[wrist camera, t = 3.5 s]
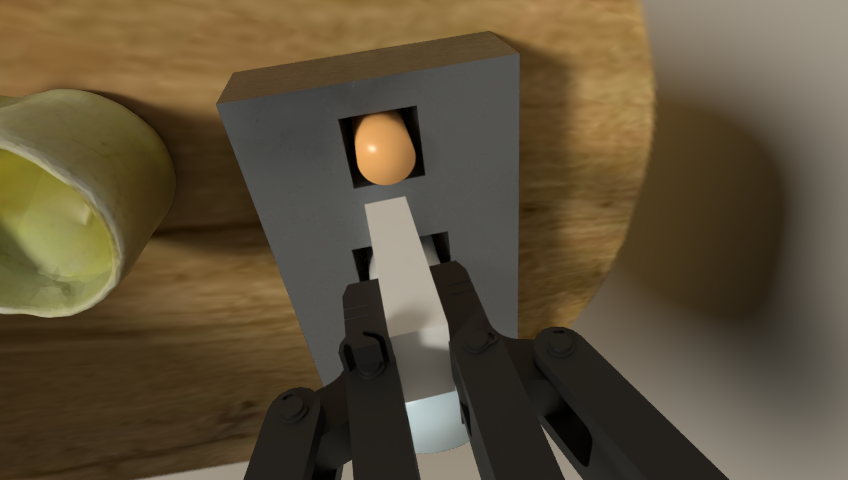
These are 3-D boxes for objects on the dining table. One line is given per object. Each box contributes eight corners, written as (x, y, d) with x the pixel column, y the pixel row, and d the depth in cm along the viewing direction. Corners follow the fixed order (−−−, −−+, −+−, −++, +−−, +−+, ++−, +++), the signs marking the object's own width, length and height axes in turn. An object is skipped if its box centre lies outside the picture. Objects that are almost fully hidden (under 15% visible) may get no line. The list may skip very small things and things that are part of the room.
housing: (334, 365, 39) (335, 418, 35) (233, 72, 25) (215, 104, 21) (498, 331, 40) (517, 378, 36) (489, 31, 26) (519, 53, 22)
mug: (247, 188, 27) (122, 306, 19) (142, 246, 31) (4, 361, 23) (75, -26, 22) (-196, 10, 14) (-21, 79, 26) (-269, 152, 18)
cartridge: (369, 264, 34) (395, 462, 22) (356, 210, 31) (378, 401, 19) (432, 251, 34) (492, 440, 22) (425, 197, 31) (489, 378, 19)
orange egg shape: (356, 142, 28) (363, 189, 23) (346, 96, 26) (351, 136, 22) (403, 134, 28) (418, 179, 23) (396, 87, 27) (411, 126, 22)
